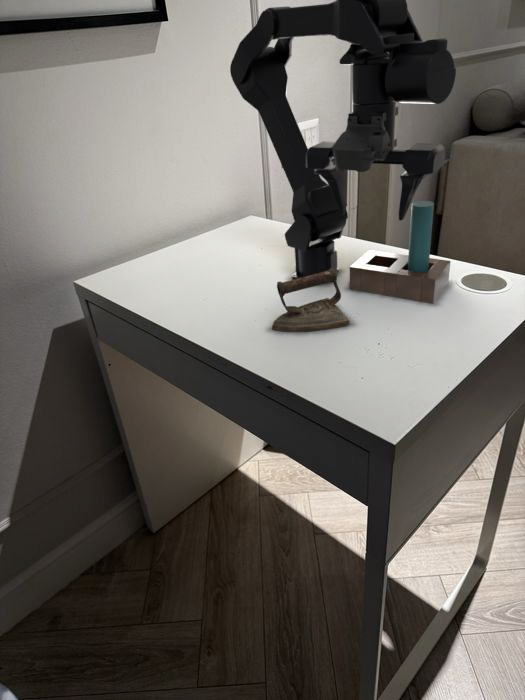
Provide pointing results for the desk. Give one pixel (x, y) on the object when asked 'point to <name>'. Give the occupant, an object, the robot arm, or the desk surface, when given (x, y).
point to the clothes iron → (310, 306)
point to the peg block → (398, 276)
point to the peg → (420, 236)
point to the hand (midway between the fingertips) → (371, 216)
